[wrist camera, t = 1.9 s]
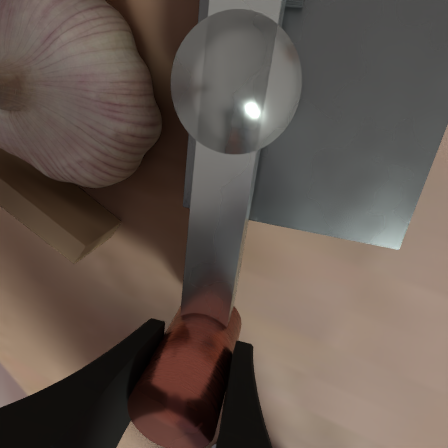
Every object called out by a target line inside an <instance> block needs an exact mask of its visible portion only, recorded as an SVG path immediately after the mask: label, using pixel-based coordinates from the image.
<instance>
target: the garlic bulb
mask: <svg viewBox="0 0 448 448" xmlns="http://www.w3.org/2000/svg"><path fill="white" fill-rule="evenodd" d="M161 129H162V119H161V114H160V110H159V108H158V106H157V104H156V101H155V99H154V95H153V85H152V79H151V75H150V72H149V69H148V68H147V66H146V64H145V62H144V61H143V60H142V58H141V57H140V56H139V54H138V51H137V49H136V45H135V41H134V37H133V34H132V31H131V29H130V26H129V25H128V23H127V22H126V20H125V19H124V17H123V16H122V15H121V14H120V13H119V12H118V10H116V9H115V8H114V7H112V6H111V5H109V4H108V3H107V2H106V1H105V0H0V148H1V149H3V150H5V151H6V152H8V153H10V154H13V155H15V156H17V157H19V158H21V159H23V160H25V161H26V162H28V163H29V164H31V165H32V166H34V167H35V168H36V169H38V170H39V171H40V172H42V173H43V174H44V175H46V176H48V177H50V178H52V179H54V180H57V181H61V182H71V183H75V184H78V185H80V186H84V187H89V188H101V187H106V186H110V185H113V184H115V183H118V182H120V181H123V180H125V179H127V178H128V177H130V176H131V175H132V174H133V173H134V172H135V171H136V170H137V168H138V167H139V166H140V164H141V161H142V158H143V156H144V154H145V153H146V152H147V151H148V150H149V149H150V148H151V147H152V146H153V145H154V144H155V143H156V141H157V140H158V138H159V136H160V133H161Z"/></svg>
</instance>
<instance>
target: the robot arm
mask: <svg viewBox="0 0 448 448" xmlns="http://www.w3.org/2000/svg"><path fill="white" fill-rule="evenodd" d="M164 329H165V322H164V321H160V320H156V319H152V318H151V319H149V320H148V321H147V322H146V323H144V324H143V325H142V326H141V327H139V328H138V329H137V330H136V331H134V332H133V333H132V334H131V335H129V336H128V337H127V338H125V339H124V340H123V341H121V342H120V343H119V344H117V345H116V346H115V347H113V348H112V349H111V350H109V351H108V352H106V353H105V354H103V355H102V356H100V357H99V358H97V359H96V360H94V361H93V362H91V363H90V364H88V365H87V366H85V367H83V368H82V369H80V370H78V371H77V372H75V373H73V374H72V375H70V376H68V377H66V378H64V379H63V380H61V381H59V382H57V383H55V384H53V385H51V386H49V387H47V388H45V389H43V390H41V391H39V392H37V393H35V394H32V395H30V396H28V397H25V398H23V399H21V400H18V401H16V402H14V403H11V404H9V405H6V406H3V407H1V408H0V448H116V447H117V445H118V443H119V441H120V439H121V437H122V435H123V434H124V432H125V430H126V428H127V427H128V425H129V423H130V421H131V419H130V416H129V413H128V408H127V404H128V399H129V397H130V395H131V393H132V391H133V389H134V388H135V386H136V384H137V382H138V381H139V379H140V377H141V375H142V374H143V372H144V370H145V368H146V366H147V365H148V363H149V361H150V359H151V358H152V356H153V354H154V352H155V351H156V349H157V347H158V345H159V344H160V342H161V340H162V338H163V336H164ZM212 448H272V445H271V442H270V439H269V435H268V432H267V429H266V426H265V422H264V418H263V415H262V410H261V406H260V402H259V397H258V392H257V387H256V381H255V375H254V365H253V346H252V344H249V343H245V342H241V341H237V340H236V343H235V347H234V350H233V354H232V359H231V365H230V370H229V376H228V382H227V387H226V392H225V398H224V403H223V410H222V417H221V424H220V431H219V436H218V440H217V444H214V445H213V446H212Z"/></svg>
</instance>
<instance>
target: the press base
mask: <svg viewBox="0 0 448 448" xmlns="http://www.w3.org/2000/svg"><path fill="white" fill-rule="evenodd" d="M208 9H209V0H200V4H199V16H198V23H199V22H201V21H202V20H204V19H205V18H207V17H208ZM282 29H283V30H284V31H285V32H286V34H287V35H288V36H289V38H290V39H291V41H292V43H293V45H294V46H295V49H296V51H297V54H298V57H299V61H300V65H301V72H302V89H301V96H300V100H299V103H298V107H297V109H296V112H295V114H294V116H293V118H292V120H291V122H290V123H289V125H288V126H287V127H286V129H285V130H284V131H283V132H282V133H281V134H280V135H279V137H277V138H276V139H275V140H274V141H273V142H271V143H270V144H268V145H267V146H265V147H263V148H261V150H260V156H259V162H258V168H257V174H256V180H255V185H254V191H253V197H252V203H251V209H250V215H249V220H252V221H257V222H262V223H267V224H272V225H277V226H282V227H287V228H292V229H297V230H302V231H307V232H312V233H317V234H322V235H327V236H332V237H337V238H342V239H347V240H352V241H357V242H362V243H367V244H372V245H377V246H382V247H387V248H392V249H397V250H399V248H400V246H401V243H402V241H403V238H404V235H405V233H406V230H407V228H408V225H409V223H410V220H411V217H412V215H413V212H414V210H415V207H416V204H417V202H418V199H419V197H420V194H421V192H422V189H423V186H424V184H425V181H426V179H427V176H428V173H429V171H430V168H431V166H432V163H433V161H434V158H435V155H436V153H437V150H438V148H439V145H440V142H441V140H442V137H443V135H444V132H445V130H446V127H447V124H448V0H304V1H303V6H302V8H296V7H285V11H284V16H283V22H282ZM195 150H196V140H195V139H194V138H193V137H192V136H191V135H190V134H189V138H188V150H187V162H186V174H185V186H184V198H183V207H187V208H190V204H191V193H192V182H193V172H194V161H195Z"/></svg>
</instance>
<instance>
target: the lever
mask: <svg viewBox="0 0 448 448" xmlns="http://www.w3.org/2000/svg"><path fill="white" fill-rule="evenodd" d="M303 1H304V0H209V9H208V17H207V18H205V19H204V20H202V21H201V22H199V23H198V24H197V25H196V26H195V27H194V28H193V29H192V30H191V31H190V32H189V33H188V34H187V35H186V37H185V38H184V40H183V41H182V43H181V45H180V47H179V49H178V51H177V53H176V56H175V59H174V62H173V67H172V72H171V94H172V100H173V104H174V108H175V110H176V113H177V115H178V117H179V119H180V121H181V123H182V125H183V126H184V128H185V129H186V130H187V131H188V133H189V134H190V135H191V136H192V137H193V138H194V139H195V140H196V150H195V161H194V172H193V182H192V193H191V204H190V215H189V226H188V237H187V247H186V258H185V269H184V280H183V291H182V302H181V307H180V308H179V310H178V312H177V314H176V315H175V317H174V319H173V321H172V322H171V324H170V326H169V328H168V329H167V331H166V333H165V335H164V336H163V338H162V340H161V342H160V344H159V345H158V347H157V349H156V351H155V352H154V354H153V356H152V358H151V359H150V361H149V363H148V365H147V366H146V368H145V370H144V372H143V374H142V375H141V377H140V379H139V381H138V382H137V384H136V386H135V388H134V389H133V391H132V393H131V395H130V397H129V399H128V404H127V408H128V413H129V416H130V419H131V420H132V422H133V424H134V425H135V427H136V428H137V429H138V430H139V431H140V432H141V433H142V434H143V435H144V436H145V437H147V438H148V439H149V440H151V441H152V442H154V443H156V444H158V445H160V446H162V447H165V448H204V447H205V446H207V445H208V444H209V443H210V442H211V441H212V440H213V438H214V435H215V432H216V428H217V424H218V420H219V416H220V411H221V407H222V403H223V399H224V395H225V391H226V387H227V382H228V376H229V370H230V365H231V359H232V354H233V350H234V347H235V343H236V340H237V341H238V338H239V334H240V330H241V318H240V315H239V313H238V311H237V309H236V308H235V307H234V302H235V296H236V290H237V284H238V279H239V273H240V267H241V261H242V255H243V249H244V244H245V238H246V232H247V226H248V220H249V215H250V209H251V203H252V197H253V191H254V185H255V180H256V174H257V168H258V162H259V156H260V150H261V148H263V147H265V146H267V145H268V144H270V143H271V142H273V141H274V140H275V139H276V138H277V137H279V135H280V134H281V133H282V132H283V131H284V130H285V129H286V127H287V126H288V125H289V123H290V122H291V120H292V118H293V116H294V114H295V112H296V109H297V107H298V103H299V100H300V96H301V89H302V72H301V65H300V61H299V57H298V54H297V51H296V49H295V46H294V45H293V43H292V41H291V39H290V38H289V36H288V35H287V34H286V32H285V31H284V30H283V29H282V22H283V16H284V11H285V7H296V8H302V6H303Z"/></svg>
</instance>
